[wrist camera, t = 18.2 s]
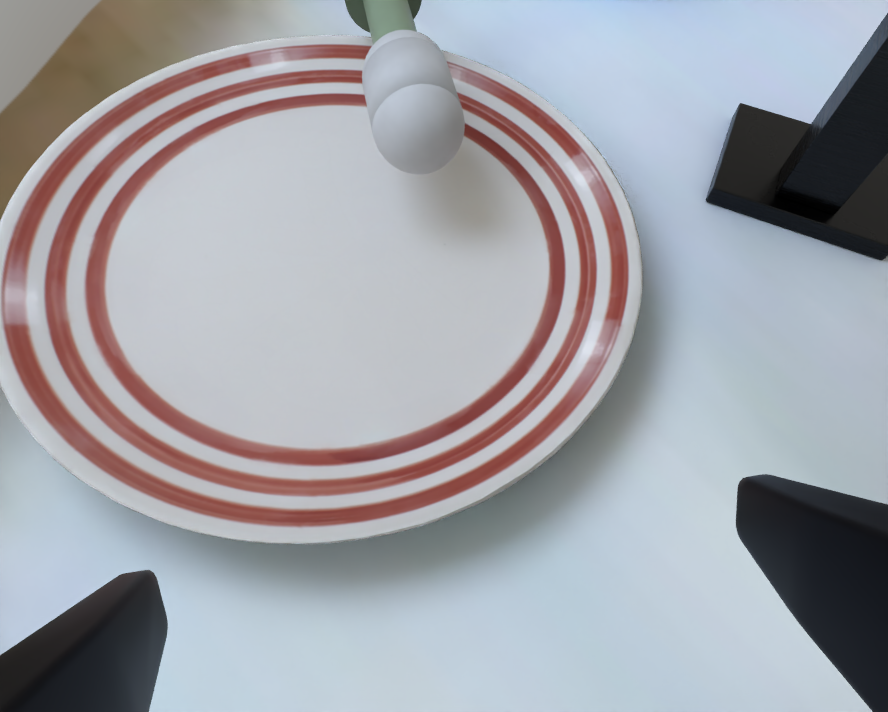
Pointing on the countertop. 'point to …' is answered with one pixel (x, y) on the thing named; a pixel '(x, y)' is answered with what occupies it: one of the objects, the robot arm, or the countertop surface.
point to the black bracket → (817, 161)
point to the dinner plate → (310, 297)
